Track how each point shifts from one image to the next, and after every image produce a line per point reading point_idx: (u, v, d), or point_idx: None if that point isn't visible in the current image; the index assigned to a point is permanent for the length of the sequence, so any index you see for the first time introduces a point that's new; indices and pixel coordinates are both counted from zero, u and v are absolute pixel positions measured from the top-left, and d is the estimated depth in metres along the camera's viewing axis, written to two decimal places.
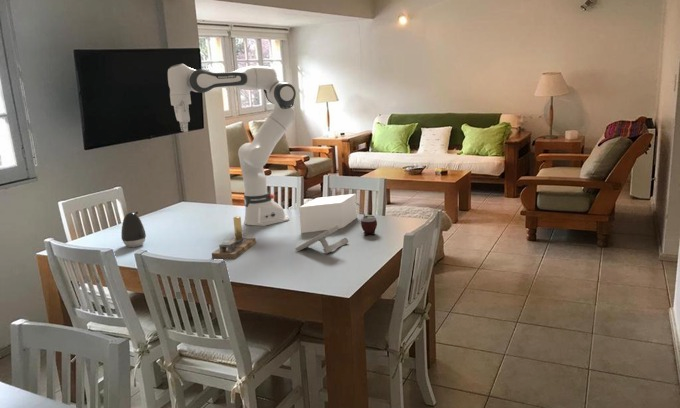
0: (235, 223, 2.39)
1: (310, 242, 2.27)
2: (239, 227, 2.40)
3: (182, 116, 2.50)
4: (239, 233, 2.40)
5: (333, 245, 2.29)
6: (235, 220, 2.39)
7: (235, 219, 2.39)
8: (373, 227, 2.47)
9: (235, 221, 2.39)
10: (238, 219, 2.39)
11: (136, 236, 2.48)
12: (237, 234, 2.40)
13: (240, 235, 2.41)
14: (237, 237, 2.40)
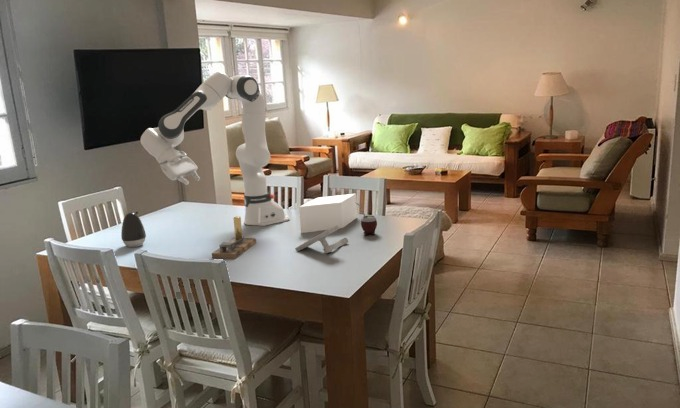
0: (235, 223, 2.39)
1: (310, 242, 2.27)
2: (239, 227, 2.40)
3: (167, 176, 2.36)
4: (239, 233, 2.40)
5: (333, 245, 2.29)
6: (235, 220, 2.39)
7: (235, 219, 2.39)
8: (373, 227, 2.47)
9: (235, 221, 2.39)
10: (238, 219, 2.39)
11: (136, 236, 2.48)
12: (237, 234, 2.40)
13: (240, 235, 2.41)
14: (237, 237, 2.40)
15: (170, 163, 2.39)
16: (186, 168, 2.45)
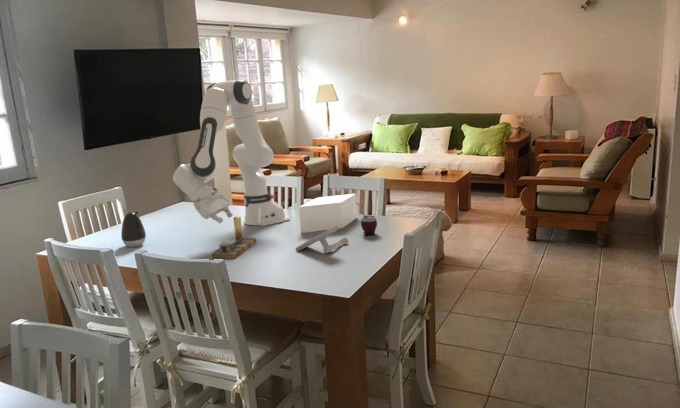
0: (235, 223, 2.39)
1: (310, 242, 2.27)
2: (239, 227, 2.40)
3: (201, 214, 2.32)
4: (239, 233, 2.40)
5: (333, 245, 2.29)
6: (235, 220, 2.39)
7: (235, 219, 2.39)
8: (373, 227, 2.47)
9: (235, 221, 2.39)
10: (238, 219, 2.39)
11: (136, 236, 2.48)
12: (237, 234, 2.40)
13: (240, 235, 2.41)
14: (237, 237, 2.40)
15: (203, 201, 2.35)
16: (219, 205, 2.41)
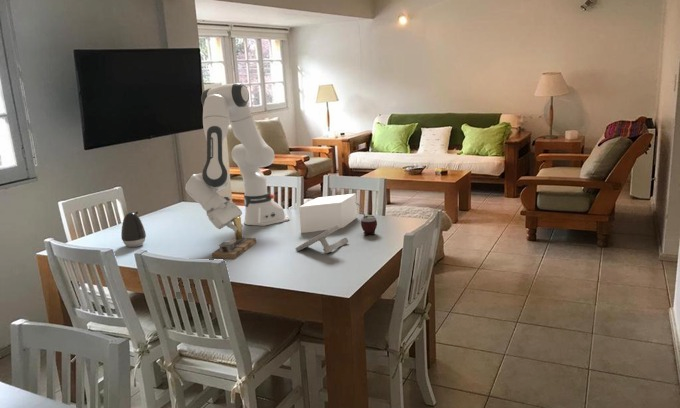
0: (235, 223, 2.39)
1: (310, 242, 2.27)
2: (239, 227, 2.40)
3: (214, 225, 2.32)
4: (239, 233, 2.40)
5: (333, 245, 2.29)
6: (235, 220, 2.39)
7: (235, 219, 2.39)
8: (373, 227, 2.47)
9: (235, 221, 2.39)
10: (238, 219, 2.39)
11: (136, 236, 2.48)
12: (237, 234, 2.40)
13: (240, 235, 2.41)
14: (237, 237, 2.40)
15: (217, 211, 2.35)
16: (232, 215, 2.41)
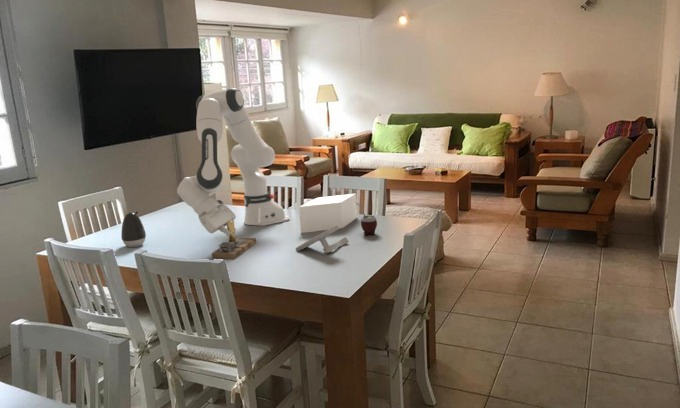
0: (228, 227, 2.33)
1: (310, 242, 2.27)
2: (232, 231, 2.33)
3: (207, 229, 2.26)
4: (232, 238, 2.34)
5: (333, 245, 2.29)
6: (228, 224, 2.32)
7: (228, 223, 2.32)
8: (373, 227, 2.47)
9: (228, 225, 2.33)
10: (231, 223, 2.32)
11: (136, 236, 2.48)
12: (230, 239, 2.34)
13: (233, 240, 2.34)
14: None
15: (209, 215, 2.28)
16: (225, 219, 2.35)
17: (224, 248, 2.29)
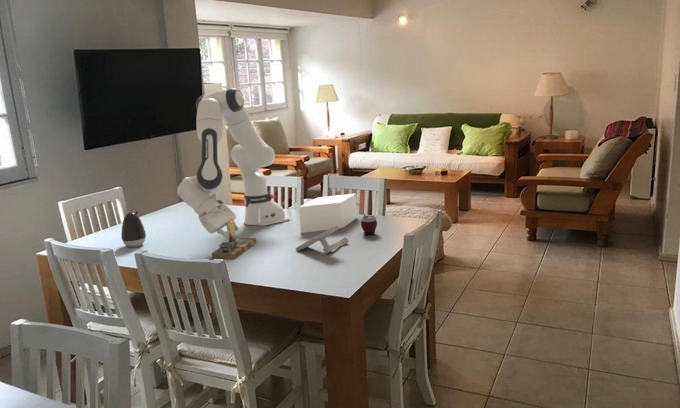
0: (228, 227, 2.33)
1: (310, 242, 2.27)
2: (232, 231, 2.33)
3: (207, 229, 2.26)
4: (232, 238, 2.34)
5: (333, 245, 2.29)
6: (228, 224, 2.32)
7: (228, 223, 2.32)
8: (373, 227, 2.47)
9: (228, 225, 2.33)
10: (231, 223, 2.32)
11: (136, 236, 2.48)
12: (230, 239, 2.34)
13: (233, 240, 2.34)
14: None
15: (209, 215, 2.28)
16: (225, 219, 2.35)
17: (224, 248, 2.29)
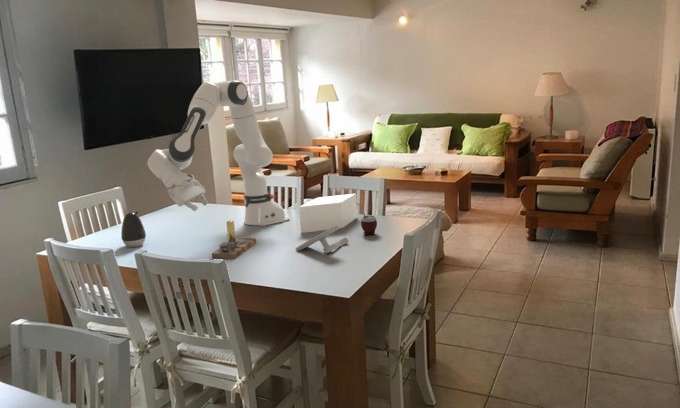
0: (228, 227, 2.33)
1: (310, 242, 2.27)
2: (232, 231, 2.33)
3: (175, 202, 2.27)
4: (232, 238, 2.34)
5: (333, 245, 2.29)
6: (228, 224, 2.32)
7: (228, 223, 2.32)
8: (373, 227, 2.47)
9: (228, 225, 2.33)
10: (231, 223, 2.32)
11: (136, 236, 2.48)
12: (230, 239, 2.34)
13: (233, 240, 2.34)
14: None
15: (178, 188, 2.30)
16: (194, 193, 2.36)
17: (224, 248, 2.29)
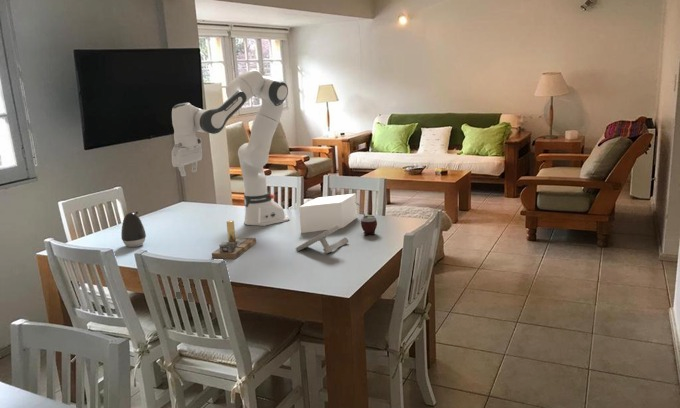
0: (228, 227, 2.33)
1: (310, 242, 2.27)
2: (232, 231, 2.33)
3: (172, 160, 2.33)
4: (232, 238, 2.34)
5: (333, 245, 2.29)
6: (228, 224, 2.32)
7: (228, 223, 2.32)
8: (373, 227, 2.47)
9: (228, 225, 2.33)
10: (231, 223, 2.32)
11: (136, 236, 2.48)
12: (230, 239, 2.34)
13: (233, 240, 2.34)
14: None
15: (182, 150, 2.35)
16: (192, 159, 2.43)
17: (224, 248, 2.29)
